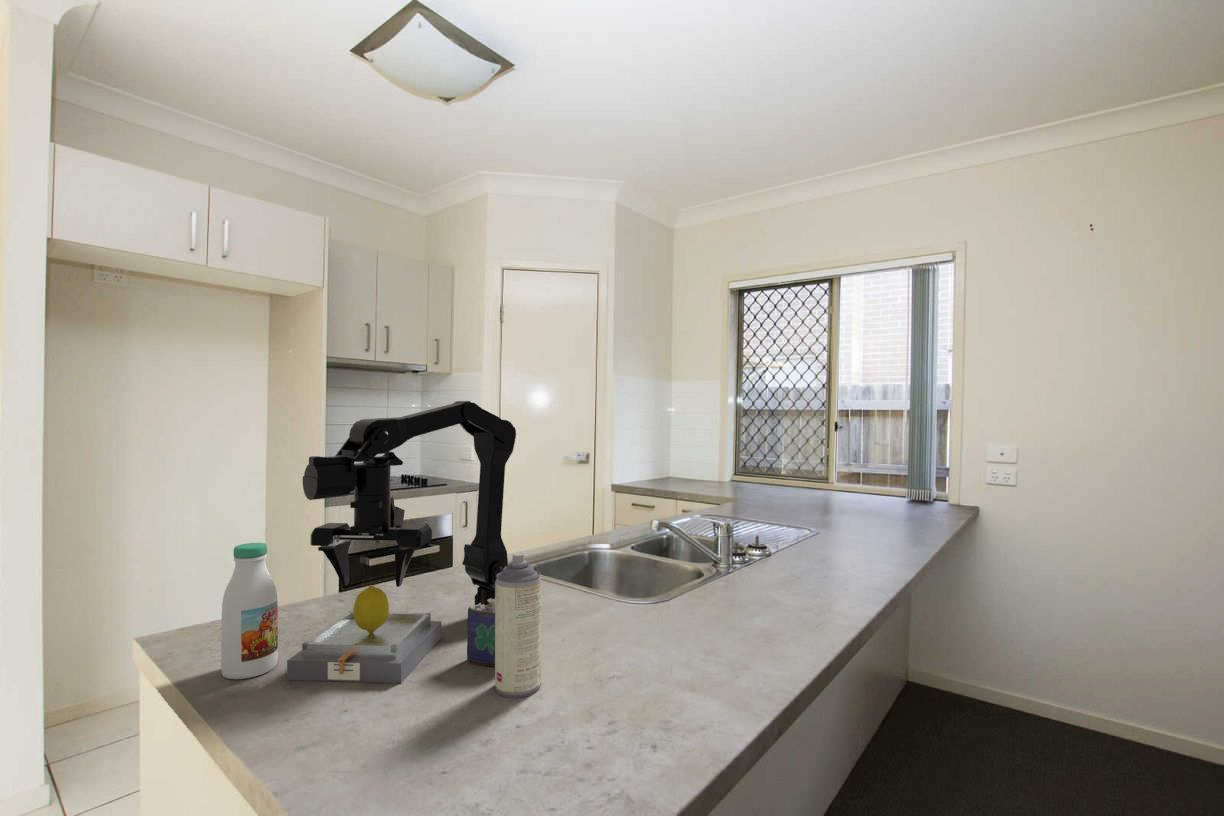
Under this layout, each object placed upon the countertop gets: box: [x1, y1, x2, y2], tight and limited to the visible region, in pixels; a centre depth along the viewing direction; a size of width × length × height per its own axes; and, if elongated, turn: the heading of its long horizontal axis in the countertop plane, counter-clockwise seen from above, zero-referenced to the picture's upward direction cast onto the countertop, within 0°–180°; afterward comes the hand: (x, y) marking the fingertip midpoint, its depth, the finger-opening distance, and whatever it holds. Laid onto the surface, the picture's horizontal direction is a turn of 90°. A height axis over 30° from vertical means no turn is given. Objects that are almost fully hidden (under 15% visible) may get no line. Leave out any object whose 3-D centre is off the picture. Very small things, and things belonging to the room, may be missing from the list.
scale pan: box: [301, 610, 432, 674], centre depth 99 cm, size 15×17×4 cm
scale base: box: [286, 620, 443, 684], centre depth 100 cm, size 18×18×3 cm
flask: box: [466, 598, 495, 668], centre depth 98 cm, size 9×3×11 cm, turn 74°
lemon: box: [352, 585, 390, 633], centre depth 100 cm, size 6×6×8 cm
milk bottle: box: [220, 542, 279, 680], centre depth 95 cm, size 8×8×20 cm
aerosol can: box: [494, 552, 542, 699], centre depth 90 cm, size 7×7×20 cm
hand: (372, 585), depth 101 cm, fingers open, 9 cm apart
